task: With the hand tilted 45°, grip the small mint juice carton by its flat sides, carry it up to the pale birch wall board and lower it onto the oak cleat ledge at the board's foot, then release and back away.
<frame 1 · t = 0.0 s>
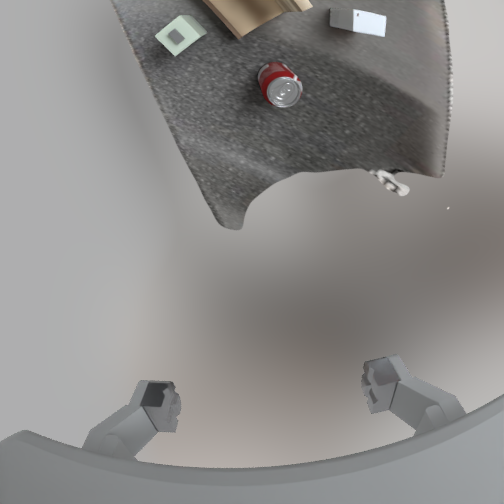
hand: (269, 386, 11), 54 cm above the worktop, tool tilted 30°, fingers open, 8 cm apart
soda can: (274, 76, 48), on the worktop
mint juice carton: (188, 31, 40), on the worktop
skincare box: (343, 19, 38), on the worktop
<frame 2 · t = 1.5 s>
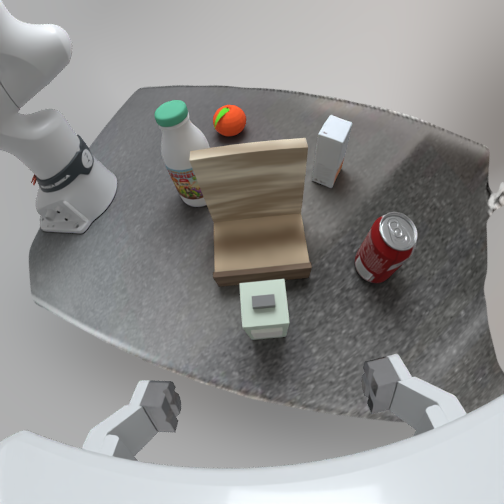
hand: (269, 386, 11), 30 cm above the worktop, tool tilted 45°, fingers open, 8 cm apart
soda can: (372, 265, 44), on the worktop
mint juice carton: (267, 321, 42), on the worktop
milk bottle: (201, 191, 53), on the worktop
skincare box: (327, 174, 52), on the worktop
clementine: (230, 134, 58), on the worktop
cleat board: (258, 226, 48), on the worktop
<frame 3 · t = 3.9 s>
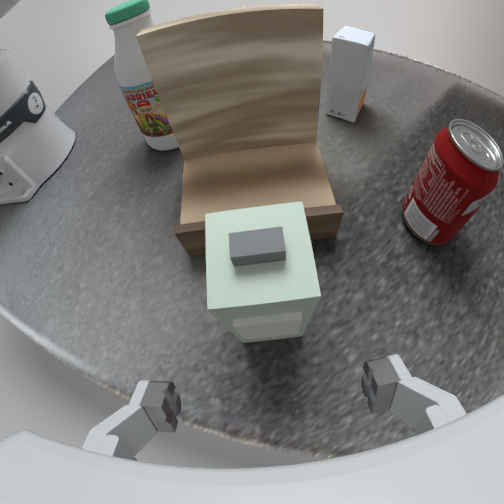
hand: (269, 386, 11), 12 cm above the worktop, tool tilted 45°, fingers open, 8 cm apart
soda can: (426, 220, 26), on the worktop
mint juice carton: (269, 311, 24), on the worktop
milk bottle: (174, 133, 36), on the worktop
skincare box: (345, 109, 35), on the worktop
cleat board: (252, 168, 31), on the worktop
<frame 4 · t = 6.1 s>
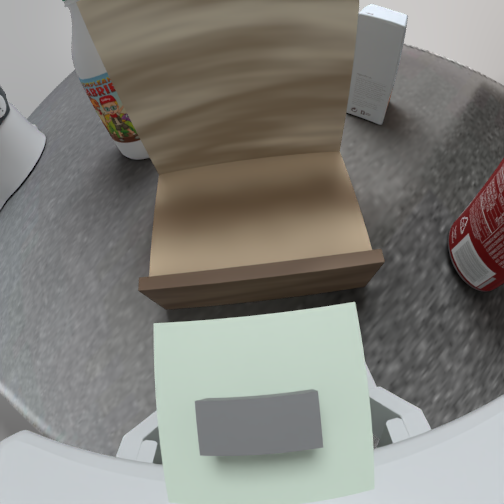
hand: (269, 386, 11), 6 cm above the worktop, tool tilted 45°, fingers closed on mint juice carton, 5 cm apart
soda can: (472, 257, 19), on the worktop
mint juice carton: (274, 392, 16), on the worktop, touching gripper
milk bottle: (153, 137, 28), on the worktop
skincare box: (368, 107, 27), on the worktop
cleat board: (252, 184, 23), on the worktop
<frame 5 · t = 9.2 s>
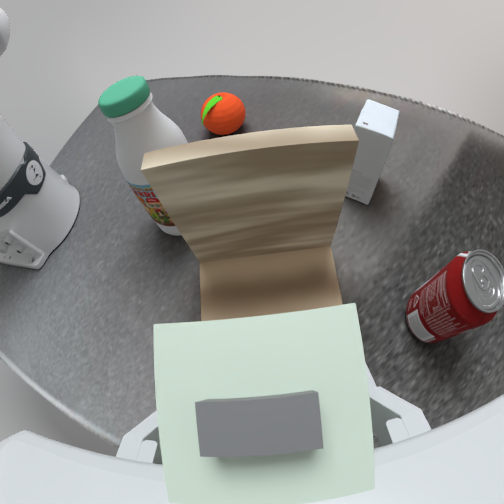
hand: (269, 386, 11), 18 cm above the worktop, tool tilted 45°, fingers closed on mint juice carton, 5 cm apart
soda can: (427, 316, 28), on the worktop
mint juice carton: (274, 392, 16), point 12 cm above the worktop, touching gripper
milk bottle: (184, 212, 37), on the worktop
skincare box: (359, 185, 36), on the worktop
clementine: (224, 132, 44), on the worktop
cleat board: (266, 265, 33), on the worktop
when the fingers open (10 cm above the worktop, at t = 12.5 s): mint juice carton stays where it is, resting on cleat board.
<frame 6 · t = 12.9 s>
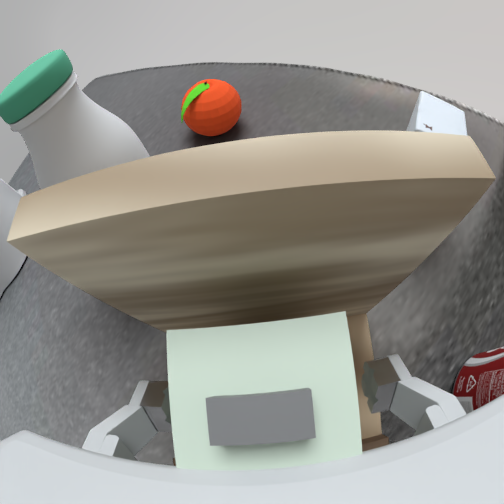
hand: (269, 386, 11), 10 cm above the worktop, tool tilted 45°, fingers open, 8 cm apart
soda can: (473, 389, 17), on the worktop
mint juice carton: (274, 391, 17), point 3 cm above the worktop, touching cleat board
milk bottle: (155, 248, 26), on the worktop
skincare box: (397, 210, 26), on the worktop
clementine: (214, 132, 33), on the worktop
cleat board: (270, 334, 22), on the worktop
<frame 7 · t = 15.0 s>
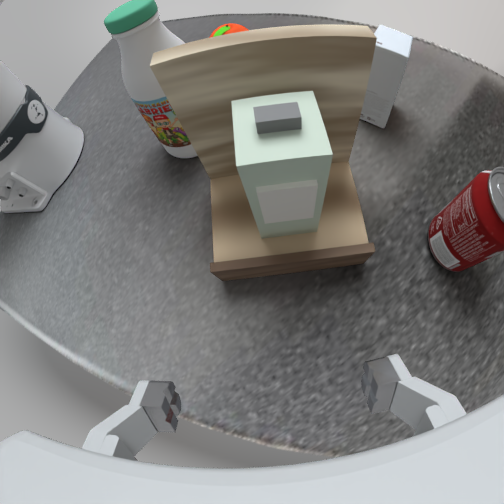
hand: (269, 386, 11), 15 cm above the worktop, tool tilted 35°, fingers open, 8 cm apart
soda can: (449, 243, 26), on the worktop
mint juice carton: (285, 209, 26), point 3 cm above the worktop, touching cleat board
milk bottle: (193, 136, 34), on the worktop
skincare box: (374, 110, 32), on the worktop
clementine: (233, 62, 38), on the worktop
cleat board: (281, 183, 30), on the worktop
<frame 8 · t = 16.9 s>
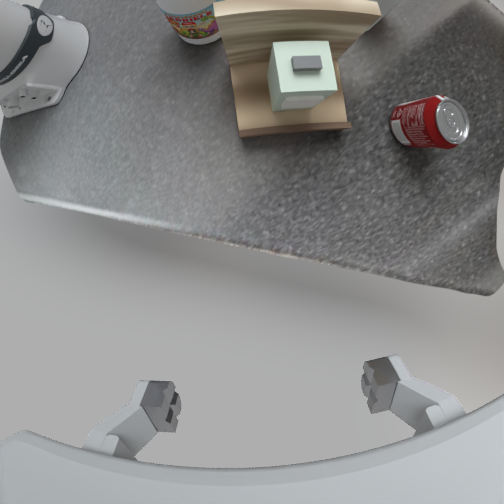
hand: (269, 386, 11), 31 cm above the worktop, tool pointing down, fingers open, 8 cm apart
soda can: (406, 125, 35), on the worktop
mint juice carton: (289, 91, 32), point 3 cm above the worktop, touching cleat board
milk bottle: (203, 25, 31), on the worktop
skincare box: (361, 14, 29), on the worktop
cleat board: (282, 67, 33), on the worktop
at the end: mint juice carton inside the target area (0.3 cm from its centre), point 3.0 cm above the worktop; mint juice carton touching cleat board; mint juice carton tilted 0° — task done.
